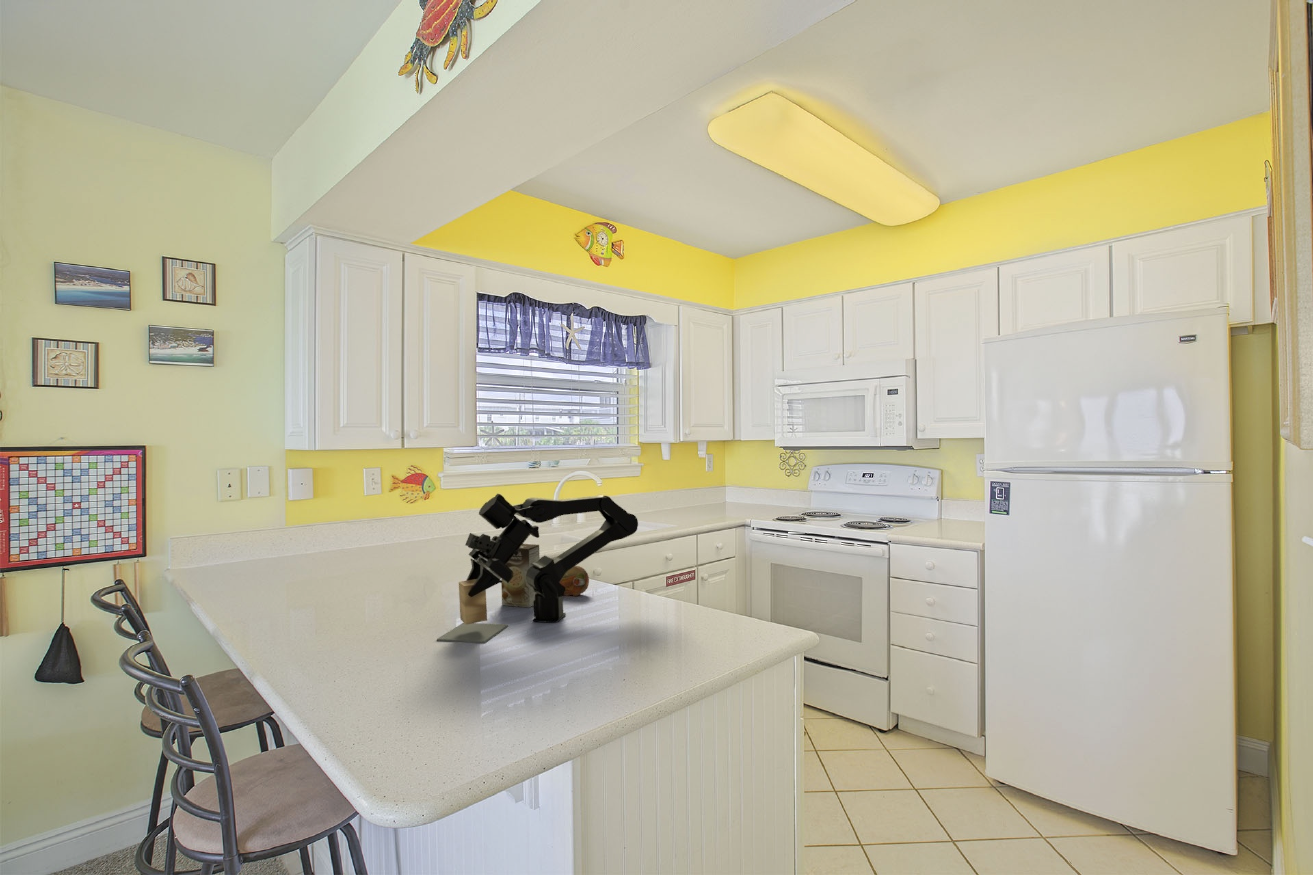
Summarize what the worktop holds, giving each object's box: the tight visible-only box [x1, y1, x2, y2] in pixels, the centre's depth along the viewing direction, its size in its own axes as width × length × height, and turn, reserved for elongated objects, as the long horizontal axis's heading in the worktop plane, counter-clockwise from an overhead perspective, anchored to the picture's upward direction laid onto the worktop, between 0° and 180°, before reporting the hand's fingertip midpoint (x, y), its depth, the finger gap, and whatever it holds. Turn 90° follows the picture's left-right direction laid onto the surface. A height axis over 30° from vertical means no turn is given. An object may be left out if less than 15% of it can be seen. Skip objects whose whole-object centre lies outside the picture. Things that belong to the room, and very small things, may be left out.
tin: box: [559, 565, 590, 597], centre depth 184 cm, size 15×3×8 cm, turn 68°
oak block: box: [458, 579, 488, 625], centre depth 151 cm, size 5×5×9 cm
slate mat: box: [436, 622, 509, 644], centre depth 152 cm, size 12×12×1 cm
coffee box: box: [500, 543, 541, 608], centre depth 176 cm, size 9×6×16 cm
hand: (466, 593), depth 151 cm, fingers closed on oak block, 5 cm apart
